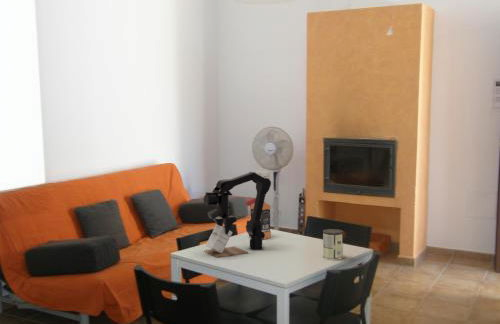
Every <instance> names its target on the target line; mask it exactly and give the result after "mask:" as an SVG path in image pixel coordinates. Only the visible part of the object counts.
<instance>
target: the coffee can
mask: <svg viewBox="0 0 500 324" xmlns="http://www.w3.org/2000/svg"><path fill="white" fill-rule="evenodd" d="M322 233H323V234H322V241H323V242H322V258H323V259H325V260H328V261H337V260H342V259H343V258H344V257H343V254H344V253H343V247H344V246H343V243H344V242H343V241H344V235H343V234H344V230H342V229H338V228H327V229H323V230H322Z"/></svg>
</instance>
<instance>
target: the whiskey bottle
mask: <svg viewBox="0 0 500 324" xmlns="http://www.w3.org/2000/svg"><path fill="white" fill-rule="evenodd" d="M254 205H255V202H254V203H252V204H251V205H250V219H251V218H252V214H253V209H254ZM271 207H272V205H271V204H270V203H267V202H266V201H264V204H263V209H262V214H261V218H260V222H261V231H262V232H263V233H264V234H265V237H264V238H262V241H264V240H265V239H266V240H267V239H272V231H271ZM248 236H249V235H248ZM249 238H250V239H251V236H249Z"/></svg>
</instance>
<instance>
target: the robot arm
mask: <svg viewBox="0 0 500 324" xmlns="http://www.w3.org/2000/svg"><path fill="white" fill-rule="evenodd" d="M251 181H252V183H255V191H256V195H255V201H254V203H255V205H254V209H253V214H252V218H251V217H250V219H249V220H247V221H246V225H245V227H244V228H245V230H246V233H247V234H248V236H251V238H250V239H249V248H250V250H263V240H262V238H264V237H265V234H264V233H263V232H262V231H261V222H260V218H261V214H262V209H263V204H264V202H265V200H266V199H265V198H266V195H267V194H268V192H269V191H270V188H271V186H272V181H271V180H270V178H267V177H263V176H261V175H259V174H258V173H257V172H254V171H249V172H246V173H245V174H242V175H239V176H236V177H232V178H230V179H228V178H227V179H219V180H218V181H217V182H216V184H215V187H214V188H213V190H212V191H211V192H209V191H208V192H207V191H206V192H205V194H204V196H203V203H204V206H215V209H212V210H209V211H208V212H207V217H208V219H211V220H213V222H214V221H215V223H216V224H217V225H220V226H222V227H224V228H225V234H226V235H227V234H228V232H229V230H230V231H231V228H232V226H233V225H234V224H235V223H237V217H236V216H234V215H231V214H230V213H229V209H231V205H229V203H230V201H229V196H233V193H232V192H231V190H233V188H235V187H236V186H237V187H238V185H239V186H240V185H242V184H245V183H248V182H251ZM216 224H215V225H216ZM223 225H224V226H223Z"/></svg>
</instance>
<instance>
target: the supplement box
mask: <svg viewBox="0 0 500 324" xmlns="http://www.w3.org/2000/svg"><path fill="white" fill-rule="evenodd" d="M232 234H233V231H231V229H230V230H229V232H228V234H227V235H226V234H225V226H220V225H217V224H215V227H214V228H213V230H212V233H211V234H210V236H209V237H208V240H207V242H206V244H205V246H206V247H208V248H210V249H211V250H212V249H213V250H215V251H218V252H220V253H222V252H223V250H224V248H226V246H227V244H228V242H229V240H230V238H231V236H232Z"/></svg>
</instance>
